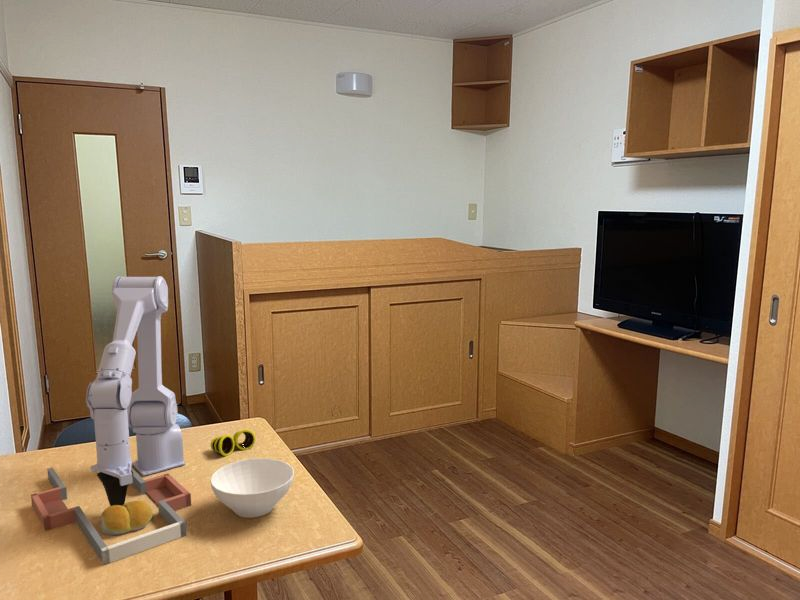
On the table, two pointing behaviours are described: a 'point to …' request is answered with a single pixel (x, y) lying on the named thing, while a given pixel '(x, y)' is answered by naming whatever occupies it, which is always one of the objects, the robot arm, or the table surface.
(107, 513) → the bread roll
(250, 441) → the opera glasses
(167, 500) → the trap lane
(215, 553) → the table surface
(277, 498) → the bowl
